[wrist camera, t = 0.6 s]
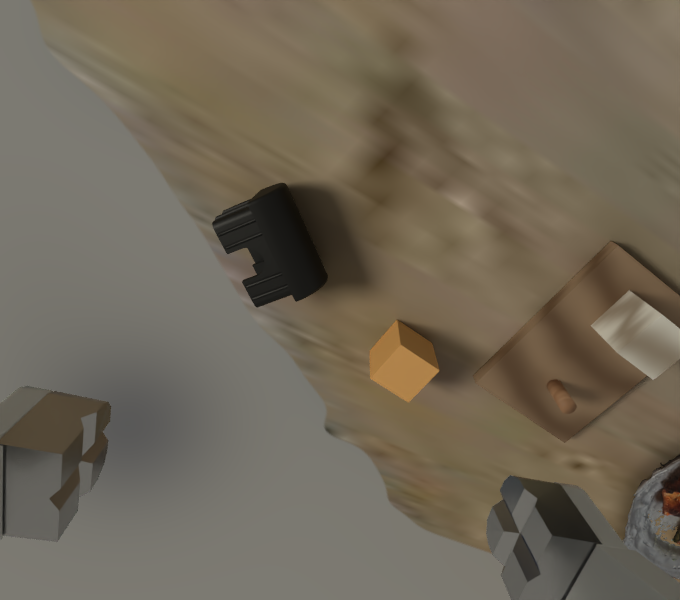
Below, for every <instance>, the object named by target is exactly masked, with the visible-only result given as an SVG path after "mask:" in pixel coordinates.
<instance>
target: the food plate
mask: <svg viewBox="0 0 680 600" xmlns="http://www.w3.org/2000/svg"><path fill="white" fill-rule="evenodd" d="M660 464H661V465H662V466H665V467H664V468H663V469H661V467H660V468H656V470H654V471H653V474H652V477H651V478H650V479H649V480H646V479H645V480H643V481H642V482H641V484H640V486H639V487H638V490H637V491H636V493H635V494H636V495H634V496H636V497H635V498H634V500H633V504H632V507H631V509H630V513H629V515H628V522H627V525H626V527H625V529H626V530H625V531H626V533H625V536H626V537H625V538H624V540H625V541H624V540H623V542H624V544H625V545H626V547H627V548H628V549H629V550H635V551H637V552H638V553H640V554H641V555H642V556H644V557H645V558H646V559H648V560H649V561H651V562H652V563H653V564H655V565H656V566H657V567H659V568H660V569H661V570H663V571H664V572H666V573H667V574H668V575H670V576H671V577H672V578H676V579H680V546H675V545H674V544H670V543H669V542H667V541H662V540H661V539H660V537H661V534H665V533H661V532H660V533H661V534H659V535H656V534H655V533H656V532H657V530H658V528H659V527H661V529H660V531H661V530H664V531H667V530H669V529H671V530H675V527H677V526H678V527H677V528H678V529H677V530H678V531H677V532H676V535H675V536H674V538H673V539H672V540H671V541H674V542H676V543H677V544H680V455H679V456H677V457H676V458H675V459H673V460H669V461H668V462H667V463H666V464H665V465H663V464H662V463H660ZM658 511H661V512H660V513H659V512H658ZM648 514H650V515H649V518H647V516H648ZM661 515H662V516H663V515H665V516H664V518H663V519H662V518H661V519H660V520H662V521H661V522H660V525H658V526H655V524H656V522H655V519H657V518H658V517H660V516H661ZM651 516H652V517H651ZM650 520H652V521H653V522H652V523H651V521H650ZM657 522H659V521H657ZM668 523H669V524H668ZM663 525H665V526H664V527H662V526H663ZM668 525H671V526H669V527H670V528H666V527H667V526H668ZM650 526H651V527H650ZM673 526H674V528H672V527H673ZM662 528H666V529H662ZM672 532H673V531H672ZM662 537H663V536H662ZM664 539H667V537H666V538H664Z"/></svg>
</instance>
